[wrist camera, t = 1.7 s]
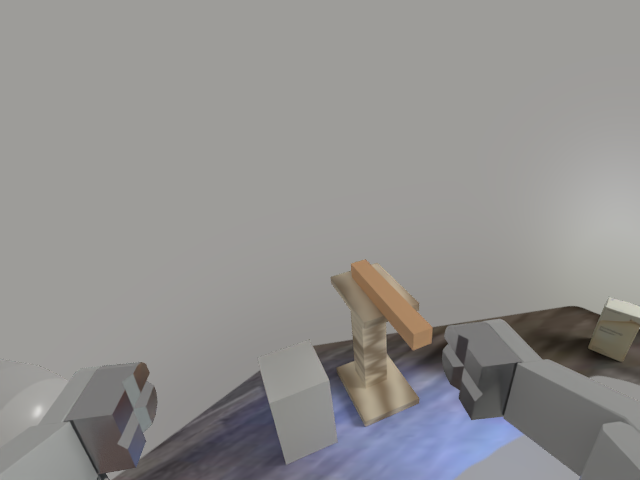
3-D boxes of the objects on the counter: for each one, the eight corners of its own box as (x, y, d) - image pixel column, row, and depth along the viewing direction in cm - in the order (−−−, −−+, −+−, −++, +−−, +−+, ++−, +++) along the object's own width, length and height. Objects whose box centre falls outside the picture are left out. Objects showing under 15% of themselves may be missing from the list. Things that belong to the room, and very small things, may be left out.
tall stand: (365, 426, 65) (358, 324, 53) (337, 372, 77) (325, 278, 64) (419, 403, 68) (424, 301, 56) (383, 354, 80) (381, 261, 68)
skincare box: (587, 349, 75) (603, 306, 69) (591, 337, 78) (607, 295, 72) (623, 363, 71) (644, 319, 65) (627, 350, 74) (647, 307, 68)
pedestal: (286, 464, 61) (269, 403, 52) (273, 416, 69) (257, 357, 61) (337, 441, 63) (329, 380, 55) (319, 398, 72) (309, 339, 63)
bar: (413, 350, 47) (413, 334, 46) (351, 277, 64) (350, 263, 62) (431, 343, 48) (432, 327, 46) (366, 272, 65) (365, 259, 63)
